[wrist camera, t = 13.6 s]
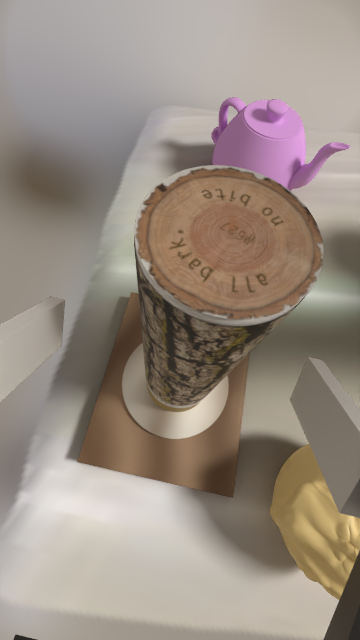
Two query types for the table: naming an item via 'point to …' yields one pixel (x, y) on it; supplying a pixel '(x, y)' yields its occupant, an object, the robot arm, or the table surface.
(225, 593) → the table surface
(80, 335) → the table surface
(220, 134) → the teapot
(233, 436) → the walnut board
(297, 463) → the sculpture
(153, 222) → the paper tube
